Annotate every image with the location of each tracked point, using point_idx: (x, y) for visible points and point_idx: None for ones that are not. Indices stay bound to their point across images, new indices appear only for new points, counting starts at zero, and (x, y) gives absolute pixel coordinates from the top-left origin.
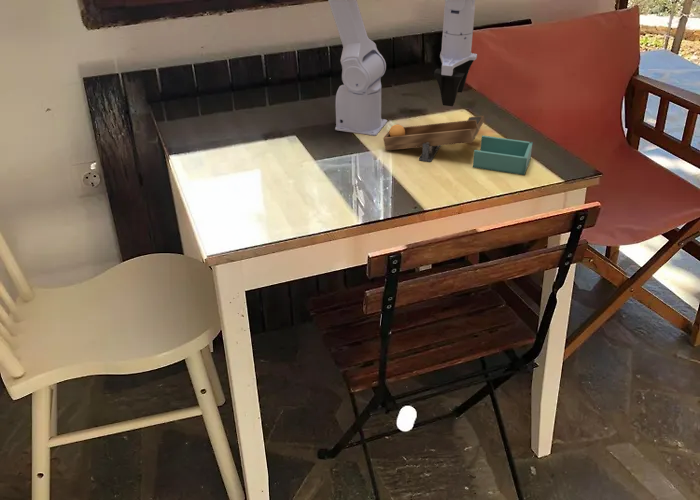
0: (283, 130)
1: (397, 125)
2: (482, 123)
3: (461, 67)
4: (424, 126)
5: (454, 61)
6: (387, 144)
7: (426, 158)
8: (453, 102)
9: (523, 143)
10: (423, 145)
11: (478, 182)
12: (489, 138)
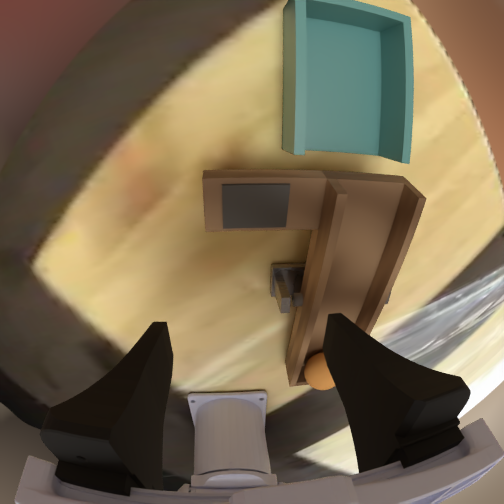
0: (281, 464)
1: (330, 384)
2: (241, 170)
3: (144, 428)
4: (310, 335)
5: (444, 493)
6: None
7: None
8: (350, 321)
9: (305, 16)
10: (387, 299)
11: (436, 135)
12: (305, 126)
